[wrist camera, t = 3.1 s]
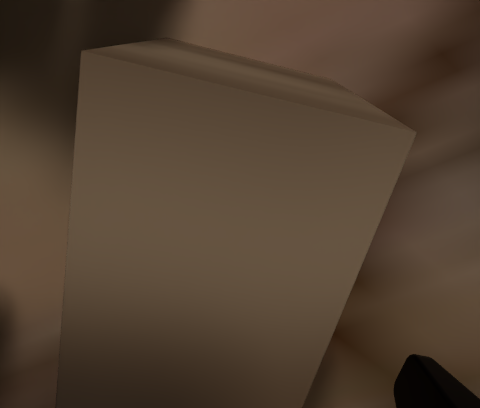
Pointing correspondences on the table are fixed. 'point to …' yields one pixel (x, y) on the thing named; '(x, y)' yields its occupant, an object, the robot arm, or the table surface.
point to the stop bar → (213, 226)
